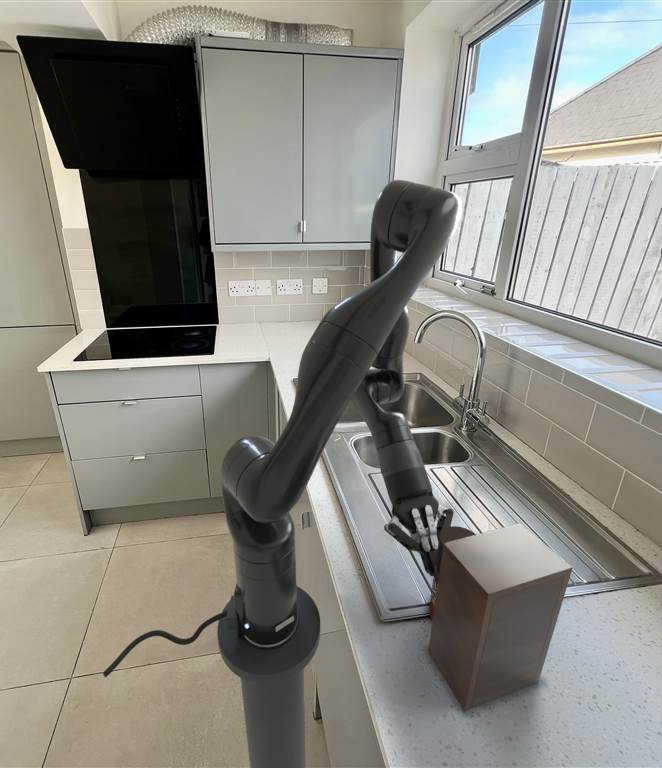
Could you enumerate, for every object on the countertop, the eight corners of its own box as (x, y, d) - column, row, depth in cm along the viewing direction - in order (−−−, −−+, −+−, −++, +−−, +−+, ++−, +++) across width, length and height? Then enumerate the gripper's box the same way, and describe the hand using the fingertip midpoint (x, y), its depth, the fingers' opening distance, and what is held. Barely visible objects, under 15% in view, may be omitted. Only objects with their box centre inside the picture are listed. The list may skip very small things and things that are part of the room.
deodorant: (421, 607, 66) (430, 534, 60) (448, 593, 68) (459, 521, 63) (448, 638, 61) (461, 561, 55) (476, 621, 63) (492, 546, 58)
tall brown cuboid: (427, 652, 59) (443, 543, 51) (495, 628, 62) (519, 522, 55) (464, 711, 52) (488, 594, 44) (538, 681, 55) (573, 567, 48)
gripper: (377, 473, 67) (411, 587, 61) (445, 458, 70) (484, 564, 64) (362, 482, 73) (391, 585, 67) (425, 468, 77) (458, 564, 71)
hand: (437, 575), depth 66 cm, fingers closed
